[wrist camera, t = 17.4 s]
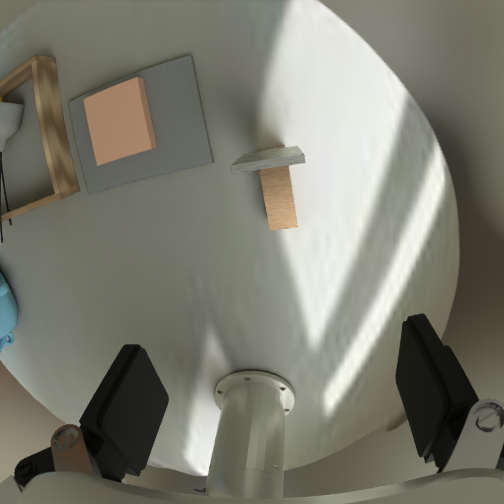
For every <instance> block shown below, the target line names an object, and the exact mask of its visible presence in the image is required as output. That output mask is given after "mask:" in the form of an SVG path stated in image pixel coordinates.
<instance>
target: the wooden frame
mask: <svg viewBox="0 0 504 504" xmlns="http://www.w3.org/2000/svg"><path fill="white" fill-rule="evenodd" d="M31 78H33V84H34V92H35V100H36V107H37V114H38V120H39V125H40V131H41V136H42V141H43V146H44V151H45V156H46V160H47V164H48V168H49V173H50V177H51V180H52V184H53V188H54V192H55V193H54V194H51V195H48V196H46V197H43V198H41V199H38V200H36V201H33V202H30V203H28V204H26V205H23V206H21V207H18V208H16V209H14V210H11V211H9V212H7V213H4V214H2V215H1V222H2V221H5V220H7V219H9V218H12V217H14V216H17V215H20V214H22V213H25V212H27V211H30V210H33V209H35V208H38V207H41V206H43V205H46V204H49V203H52V202H55V201H58V200H60V199H63V198H65V197H67V196H69V195H72V194H74V193H76V192H78V191H80V189H79V185H78V181H77V177H76V174H75V170H74V165H73V161H72V157H71V153H70V148H69V144H68V139H67V134H66V129H65V124H64V118H63V113H62V107H61V100H60V94H59V87H58V79H57V71H56V61H55V58H53V57H47V56H39V55H35V56H33V57H32V58H31V59H29V60H28V61H26V62H25V63H24V64H22V65H21V66H19V67H18V68H17V69H15V70H14V71H13V72H11V73H10V74H9V75H8V76H6V77H5V78H4V79H3V80H1V81H0V97H3V98H5V97H6V96H7V95H9V94H10V93H11V92H13V91H14V90H15V89H17V88H18V87H19V86H21V85H22V84H24V83H25V82H27V81H28V80H30V79H31Z"/></svg>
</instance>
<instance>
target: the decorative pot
mask: <svg viewBox="0 0 504 504" xmlns="http://www.w3.org/2000/svg"><path fill="white" fill-rule="evenodd" d="M17 317H18V309H17V302H16V299H15V298H14V296H13V295H12V293H11V290H10V288H9V286H8V284H7V283H6V281H5V279H4V277H3V276H2V274H1V273H0V353H1V350H2V348H3V345H4V343H5V344H6V345H11V344H13V342H14V336H13V333H12V332H11V331H12V330H13V329H14V328H15V326H16V323H17ZM7 336H8V337H9V341H7V340H6V338H7Z"/></svg>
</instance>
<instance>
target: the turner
mask: <svg viewBox="0 0 504 504" xmlns="http://www.w3.org/2000/svg"><path fill="white" fill-rule="evenodd" d="M300 163H305V157H304V153H303V152H302V151H301V150H300V149H299V147H298V146H293V147H286V148H285V145H282V146H276V147H269V148H263V149H257V151H256V152H254V153H248V154H243V155H242V156H241V157H240V158H239V159H237V160H236V161H235V162H234V163H233V164H232V165H230V168H231V173H232V174H237V173H242V172H248V171H254V170H259V173H260V179H261V184H262V190H263V195H264V201H265V207H266V212H267V218H268V223H269V229H270V231H273V230H280V229H287V228H294V227H298V226H297V219H296V213H295V206H294V199H293V193H292V186H291V180H290V174H289V167H288V165H293V164H300Z"/></svg>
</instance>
